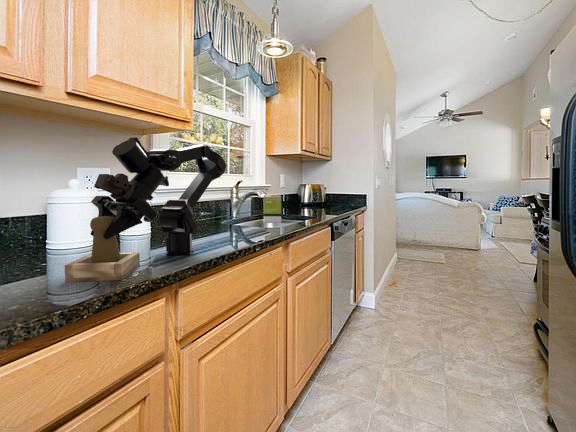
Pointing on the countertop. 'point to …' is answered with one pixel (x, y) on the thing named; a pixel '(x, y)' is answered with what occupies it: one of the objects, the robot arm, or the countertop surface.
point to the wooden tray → (101, 268)
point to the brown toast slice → (103, 242)
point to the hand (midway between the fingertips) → (98, 236)
